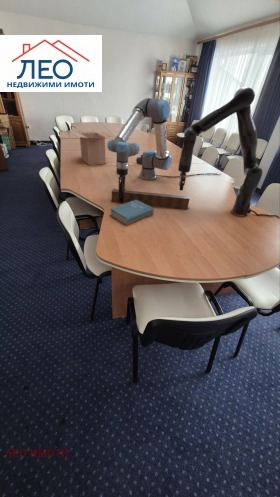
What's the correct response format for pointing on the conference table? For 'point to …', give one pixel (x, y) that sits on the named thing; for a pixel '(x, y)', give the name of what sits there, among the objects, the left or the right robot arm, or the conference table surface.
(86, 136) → the box
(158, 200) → the beam
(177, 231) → the conference table surface
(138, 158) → the laser sight
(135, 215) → the book
